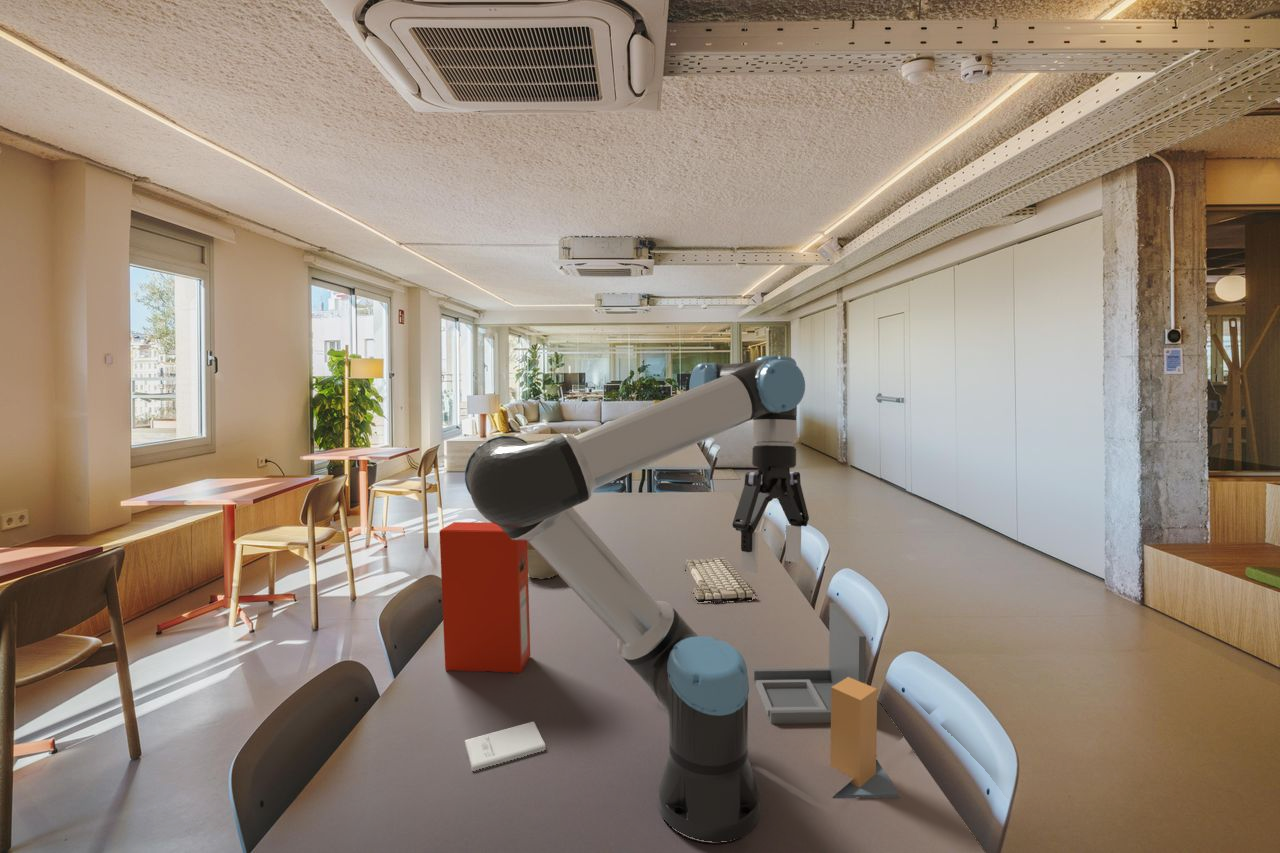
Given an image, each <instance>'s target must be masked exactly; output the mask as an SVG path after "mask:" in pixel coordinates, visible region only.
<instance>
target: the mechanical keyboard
mask: <svg viewBox="0 0 1280 853" xmlns="http://www.w3.org/2000/svg"><path fill="white" fill-rule="evenodd" d="M685 563H686V564H685V566H686V567H688V569H689V571H690V573H691V575H692V576H693V578H694V580H695V581H696V584H697V586H698V587H699V588H697V587H695V588H694V590H693V594H695V596H696V597H695V598H696V600H697V601H698V602H704V601H711V602H715V603H714V604H719V603H723V602H727V601H728V602H729V601H747V600H752V597H753V594H755V595H756V593H755V590H754V589H753V587H752V586H750V585H751V584H748V582H747V581H746V582H745V580H744V579H743V578H742V576H741V575H740V574H739V573H738V572H737V570H735V568H734V567H733V566H732V564H731V563H730V562H729V561H728V559H726V557H720V558H719V557H714V558H713V559H712V558H706V559H702V558H700V559H699V560H698V559H695V558H693V559H688V558H687V559H686V560H685ZM746 584H747V585H746ZM750 588H751V589H750ZM752 591H753V592H754V593H753V592H752ZM718 602H719V603H718ZM723 604H724V603H723Z"/></svg>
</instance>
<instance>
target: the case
mask: <svg viewBox="0 0 1280 853" xmlns="http://www.w3.org/2000/svg"><path fill="white" fill-rule="evenodd" d="M828 624H829V626H828V630H829V633H828V638H829V639H828V641H829V642H828V648H829V649H828V667H826V668H761V669H759V668H758V669H755V668H754V669H753V682H754V684H755V686H756V689H757V691H758V694H759V697H760V698H761V699H760V700H761V701H762V704H763V707H764V709H765V712H766V715H767V718H768V720H769V722H770V724H772V725H773V724H779V725H780V724H781V725H782V724H785V725H787V724H831V687H832V686H834V685H836V684H837V683H839V682H841V681H842V680H844V679H845V678H847V677H850V678H852V679H855V680H857V681H859V682H862V683H864V684H866V662H867V660H866V653H867V652H866V650H867V648H866V645H867V644H866V643H867V636H866V634H864V632H862V630H861V629H860V628H859V627H858V626H857V625H856V624H855V623H854V621H853V620H851V618H850V617H849V616H848V615H847V614H846V613H845V612H844V611H843V609H842V608H840V606H839V605H838V604H837V603H836V602H829V622H828Z"/></svg>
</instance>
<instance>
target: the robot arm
mask: <svg viewBox="0 0 1280 853" xmlns="http://www.w3.org/2000/svg"><path fill="white" fill-rule="evenodd" d="M689 378H690V379H689V386H688V387H689V389H688V390H686V391H683V392H681V393H679V394H676V395H674V396H671V397H669V398H666V399H664V400H661V401H658V402H656V403H654V404H650V405H649V406H646V407H643V408H642V409H638V410H636V411H634V412H631V413H629V414H626V415H624V416H621V417H619V418H615V419H614V420H611V421H609V422H606V423H604V424H602V425H598V426H596V427H594V428H592V429H589V430H586V431H584V432H581V433H579V434H577V435H574V436H571V435H569V434H566V433H563V432H561V433H559V434H556V435H554V436H552V437H549V438H548V437H547V438H545V439H542V440H536V441H532V442H527V441H526V440H525V439H523V438H520V437H518V436H515V435H500V436H496V437H492V438H489V439H488V440H486V441H484V442H483V443H481V444H480V445H479V446H477V448H475V450H474V451H473V452H472V454H471V455H470V456H469V458H468V460H467V462H466V466H465V469H464V481H465V482H464V483H465V486H466V489H467V492H468V493H469V495H470V496H471V499H472V502H473V504H474V507H475V509H476V510H477V511H478V512H479V514H481V516H482V517H483V518H485V519H486V520H488V521H489V523H494V524H497V525H498V526H499V527H500V528H501V529H502V530H503V531H504V532H505V533H506V534H507V535H508V536H509V537H510V538H511V539H512V540H527V541H528V542H529V544H530V545H531V546H532V547H533V548H534V549H535V550H536V551H537V552H538V553H539V554H540V555H541V556H542V558H543V559H544V560H545V561H546V562H547V563H548V564H549V565H550V566H551V567H552V568H553V569H554V570H555V572H556V573H557V576H559V577H560V578H561V579H562V580H563V581H564V582H565V583H566V585H568V587H569V588H570V589H571V590H572V591H573V592H574V593H575V594H576V596H578V597H579V599H580V600H581V601H582V602H583V603H584V604H585V605H586V606H587V607H588V608H589V609H590V610H591V611H592V613H593V614H595V616H596V617H597V618H598V619H599V620H600V621H601V622H602V623H603V624H604V626H605V627H606V628H607V629H608V630H610V632H611V633H612V634H613V635H614V636H615V637H616V638H617V644H616V645H617V651H618V653H619V655H620V656H621V657H622V659H623V660H624V661H625V662H626V663H627V664H628V665H629V667H631V668H632V669H633V671H634V672H635V673H636V674H637V675H639V677H640V678H641V679H642V680H643V682H645V684H646V685H647V686H648V687H649V689H650V690H651V691H652V693H653V694H654V695H655V697H656V699H657V700H658V701H659V703H660V704H661V705H662V707H663V708H664V709H665V711H666V713H667V715H668V734H669V735H668V736H669V737H668V738H669V739H668V740H669V741H668V742H669V747H668V748H669V753H668V754H667V755H668V756H667V758H666V761H665V764H664V768H663V770H662V774H661V776H660V779H659V782H658V789H657V798H658V799H657V800H658V802H657V804H658V810H659V813H660V816H661V815H662V816H661V817H663V818H662V819H663V821H664V820H665V821H666V822H667V823H668V824H669V825H670V826H671V827H673V828H674V829H676V830H677V831H679V832H681V833H683V834H685V835H687V836H689V837H693V838H695V839H699V840H704V841H712V842H721V841H730V840H734V839H737V838H739V839H741V838H743V837H745V836H746V835H747V833H748V834H749V833H750V832H751V831H752V830H753V829H754V828H755V827H756V825H757V823H758V822H759V819H760V814H761V796H760V790H759V787H758V786H759V785H758V783H757V780H756V777H755V774H754V771H753V769H752V765H751V762H750V760H749V756H748V754H749V748H748V747H749V694H750V682H749V675H748V668H747V663H746V660H745V658H744V656H743V655H742V654H741V652H740V651H739V650H738V649H737V648H736V647H735V646H733V645H732V644H731V643H728V642H726V641H724V640H717V638H716V637H715V638H714V637H709V636H705V635H704V636H701V635H698V634H697V633H696V632H695V631H694V629H693V628H691V626H690V625H689V624H688V623H687V622H686V621H685V619H683V617H682V616H681V615H680V614H679V613H678V612H677V610H675V608H674V607H673V606H672V605H671V604H670V603H669V602H667V601H665V600H655V598H653V596H652V595H650V593H649V592H648V590H646V588H644V587H643V585H642V584H641V583H640V582H639V580H637V579H636V578H635V576H634V575H633V574H632V572H630V571H629V570H628V568H627V567H626V566H625V565H624V564H623V563H622V561H621V560H620V559H619V558H618V557H617V556H616V554H614V552H613V551H612V550H611V549H610V548H609V546H607V544H606V543H605V542H604V541H603V540H602V538H601V537H600V536H599V535H598V534H597V533H596V532H595V531H594V530H593V528H592V527H591V525H590V526H589V524H588V523H587V522H586V521H585V520H584V518H583V517H582V516H581V515H580V514H579V513H578V512H577V510H576V509H575V508H574V507H575V506H577V505H581V504H583V503H584V502H586V501H589V500H591V498H592V496H593V493H594V491H595V489H598V488H599V487H602V486H604V485H606V484H609V483H611V482H613V481H615V480H617V479H620V478H622V477H625V476H627V475H628V474H632V473H633V472H636V471H638V470H640V469H642V468H644V467H647V466H649V465H651V464H654V463H657V462H658V461H661V460H662V459H665V458H667V457H669V456H672V455H674V454H677V453H678V452H681V451H683V450H686V449H688V448H690V447H692V446H694V445H696V444H698V443H701V442H704V441H705V440H708V439H710V438H712V437H714V436H718V435H719V434H721V433H724V432H726V431H729V430H731V429H733V428H735V427H737V426H740V425H742V424H745V423H746V422H748V421H751V420H753V426H752V429H753V430H752V441H753V442H754V443H756V444H755V445H753V447H752V454H751V455H752V456H751V457H752V459H751V460H752V461H751V463H752V465H753V466H754V467H757V472H753V471H751V472H750V471H747V472H746V473H745V476H744V485H743V489H742V492H741V495H740V498H739V502H738V505H737V506H736V507H737V508H736V511H735V513H734V514H735V515H734V518H733V521H732V528H734V529H735V531H738V532H740V533H741V534H740V550H741V562H740V563H741V568H740V570H741V571H743V572H749V573H754V574H755V573H756V574H757V573H758V571H759V570H758V569H759V567H758V566H759V564H758V563H759V562H758V561H759V559H758V558H759V532H755V531H756V529H757V527H758V525H759V523H760V521H761V519H762V516H763V514H764V512H765V511H766V508H767V506H768V504H769V502H771V501H773V499H777V501H778V502H779V504H780V507H781V508H782V510H783V513H784V515H785V517H786V519H787V522H788V524H787V525H786V524H785V561H786V562H790V563H796V564H801V562H802V557H801V556H802V527H807V526H808V522H809V520H810V516H809V512H808V508H807V504H806V501H805V500H806V499H805V497H804V496H805V495H804V492H803V487H802V483H801V473H800V472H799V471H791V470H790V469H791V468H795V467H796V466H797V448H796V446H794V444H796V443H797V441H798V440H797V438H798V436H797V433H798V432H797V424H798V422H797V414H798V412H797V409H798V405H799V404H800V403H801V402H802V400H803V397H804V396H805V392H806V381H805V377H804V374H803V372H802V370H801V369H800V367H799V366H798V364H797V361H796V360H795V359H794V358H793V357H790V356H786V355H764V356H760V357H757V358H755V359H754V361H750V362H740V363H739V362H738V363H728V364H727V363H716V362H710V363H709V362H700V363H699V364H697V365H696V366H695V367H694V368H693V370H692V372H691V374H690V377H689ZM665 821H664V822H665ZM666 822H665V823H666ZM667 823H666V824H667ZM744 835H745V836H744ZM742 836H743V837H742ZM740 837H741V838H740ZM737 840H738V839H737ZM734 841H735V840H734ZM730 842H731V841H730Z"/></svg>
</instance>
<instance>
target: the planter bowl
mask: <svg viewBox="0 0 1280 853" xmlns="http://www.w3.org/2000/svg"><path fill="white" fill-rule="evenodd" d="M527 558H528V577H529V576H530V577H532V578H531V579H533V578H548V579H550V578H549V577H552V578H554V577H553V576H555V575H556V576H558V574H557V573H556V572H555V570H554V569H553V568H552V567H551V566H550V565H549V564H548V563H547V562H546V561H545V560H544V559H543V558H542V556H541V555H540V554H539V553H538V552H537V551H536V550H535V549H534V548H533V547H532V546H531V545H530V544H529V542H528V541H527ZM556 576H555V577H556ZM530 577H529V578H530Z"/></svg>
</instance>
